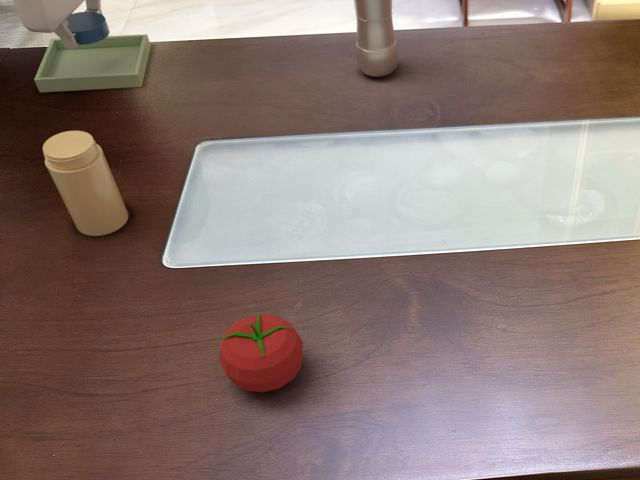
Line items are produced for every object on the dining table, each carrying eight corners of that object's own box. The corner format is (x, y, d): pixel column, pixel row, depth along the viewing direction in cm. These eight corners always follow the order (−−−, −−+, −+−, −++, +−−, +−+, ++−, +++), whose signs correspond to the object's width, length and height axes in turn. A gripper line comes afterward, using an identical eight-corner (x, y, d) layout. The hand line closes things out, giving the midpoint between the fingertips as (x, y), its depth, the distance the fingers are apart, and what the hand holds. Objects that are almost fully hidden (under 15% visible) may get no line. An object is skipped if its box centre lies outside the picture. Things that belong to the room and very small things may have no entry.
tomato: (233, 346, 75) (216, 294, 69) (309, 342, 75) (298, 290, 69) (224, 409, 70) (204, 359, 64) (306, 404, 70) (294, 354, 64)
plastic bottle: (405, 64, 113) (399, -76, 98) (390, 85, 109) (382, -57, 93) (366, 57, 114) (355, -82, 99) (350, 78, 110) (336, -64, 94)
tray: (39, 92, 105) (33, 79, 103) (56, 51, 112) (50, 38, 111) (141, 86, 106) (137, 74, 105) (151, 46, 114) (147, 34, 113)
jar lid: (119, 29, 106) (115, 16, 105) (89, 48, 102) (84, 35, 101) (83, 21, 108) (78, 8, 106) (51, 39, 104) (46, 26, 102)
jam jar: (72, 238, 85) (34, 162, 77) (79, 206, 88) (43, 131, 80) (126, 232, 86) (93, 156, 77) (130, 201, 89) (99, 125, 81)
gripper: (29, -36, 88) (74, 71, 98) (101, -96, 101) (134, 4, 111) (-21, -39, 88) (29, 68, 99) (58, -99, 101) (94, 1, 112)
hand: (85, 33), depth 105 cm, fingers closed on jar lid, 6 cm apart
